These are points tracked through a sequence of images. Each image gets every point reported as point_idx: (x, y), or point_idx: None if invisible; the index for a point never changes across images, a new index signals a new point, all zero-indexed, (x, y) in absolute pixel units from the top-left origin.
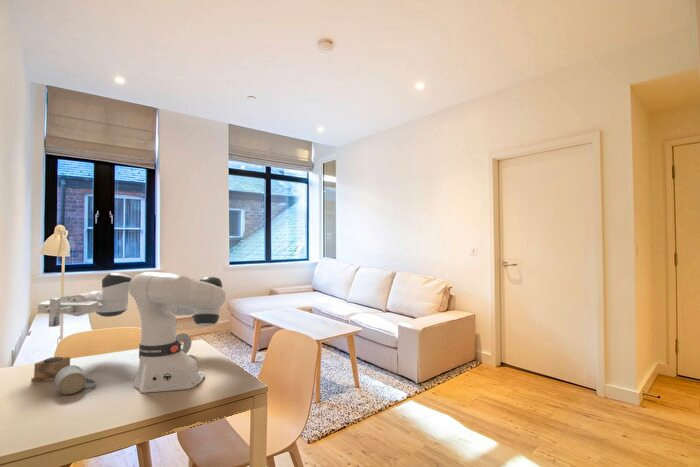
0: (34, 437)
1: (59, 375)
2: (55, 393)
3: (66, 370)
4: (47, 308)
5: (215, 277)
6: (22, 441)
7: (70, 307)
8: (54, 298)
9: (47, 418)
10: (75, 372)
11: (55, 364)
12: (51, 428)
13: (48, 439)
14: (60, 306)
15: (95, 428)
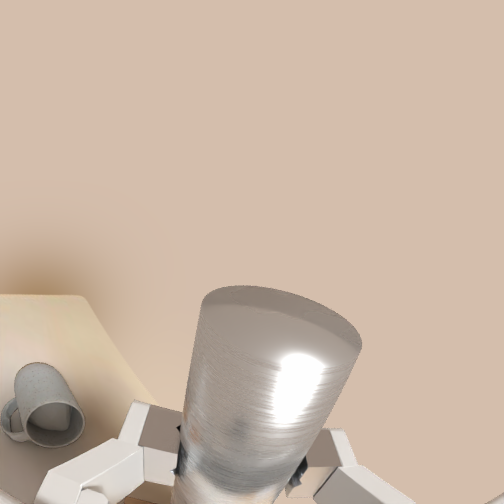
0: (66, 307)
1: (66, 388)
2: None
3: (50, 380)
4: (338, 441)
5: None
6: (76, 306)
7: (61, 469)
8: (346, 350)
9: (63, 338)
10: (30, 365)
11: (125, 498)
12: (53, 316)
13: (53, 300)
14: (188, 438)
15: (12, 299)
